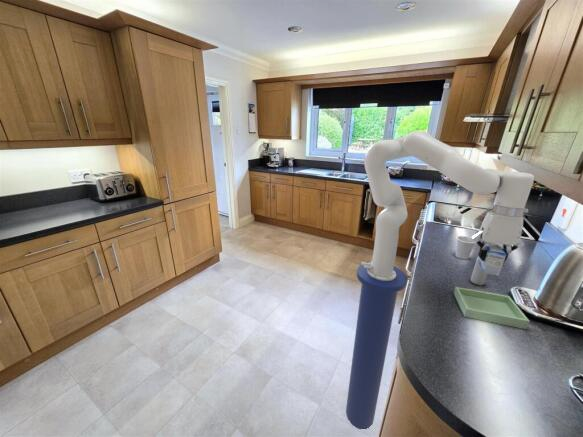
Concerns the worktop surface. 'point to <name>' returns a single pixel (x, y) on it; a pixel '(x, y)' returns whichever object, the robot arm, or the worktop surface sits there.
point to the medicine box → (493, 260)
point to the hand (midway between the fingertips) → (491, 259)
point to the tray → (490, 307)
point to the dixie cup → (464, 247)
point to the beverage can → (478, 274)
